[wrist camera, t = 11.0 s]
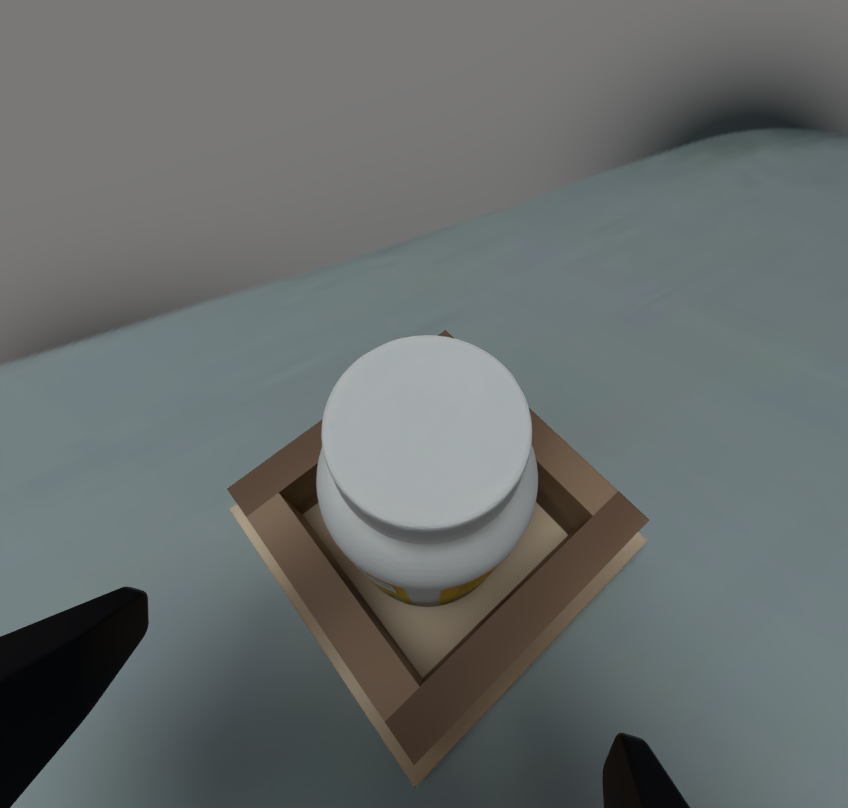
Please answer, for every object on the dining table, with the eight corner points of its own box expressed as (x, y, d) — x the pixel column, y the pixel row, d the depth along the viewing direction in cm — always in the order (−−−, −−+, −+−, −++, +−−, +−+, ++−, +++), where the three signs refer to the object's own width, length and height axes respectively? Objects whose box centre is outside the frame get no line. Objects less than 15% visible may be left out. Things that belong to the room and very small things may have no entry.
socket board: (634, 546, 18) (687, 522, 14) (416, 777, 15) (409, 823, 11) (445, 363, 22) (447, 306, 18) (241, 516, 19) (193, 486, 15)
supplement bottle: (347, 603, 16) (248, 563, 8) (364, 457, 19) (304, 302, 10) (504, 612, 16) (583, 582, 7) (501, 463, 18) (558, 309, 10)
